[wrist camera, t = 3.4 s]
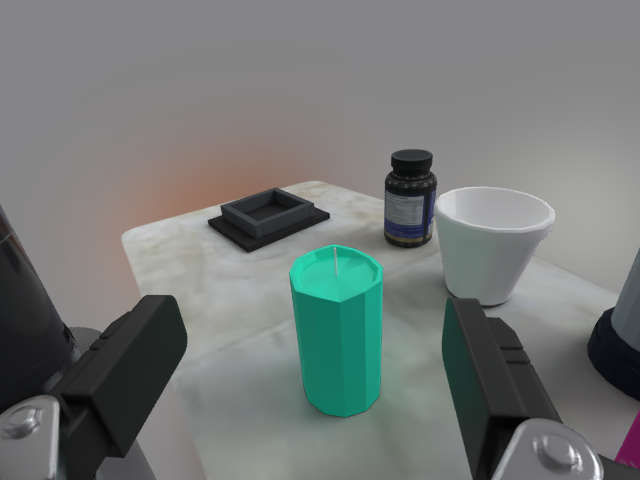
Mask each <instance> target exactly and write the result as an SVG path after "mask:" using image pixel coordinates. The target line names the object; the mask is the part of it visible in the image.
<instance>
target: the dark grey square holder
mask: <svg viewBox="0 0 640 480" xmlns="http://www.w3.org/2000/svg"><path fill="white" fill-rule="evenodd" d="M221 211H222V215H221V216H218V217H216V218H213V219H210V220H208V223H209V225H210V226H212V227H213V228H214V229H216V230H217V231H219V232H220V233H222V234H223V235H224V236H226V237H227V238H229V239H230V240H231V241H233V242H234V243H236V244H237V245H239V246H240V247H241V248H243V249H244V250H246V251H247V252H251V251H254V250H256V249H258V248H261V247H263V246H265V245H268V244H270V243H273V242H275V241H277V240H280V239H282V238H284V237H287V236H289V235H291V234H294V233H296V232H298V231H301V230H303V229H305V228H308V227H310V226H312V225H315V224H317V223H319V222H322V221H324V220H327V219H329V218H330V213H327V212H325V211H323V210H320V209H318V208H316V207H314V203H312V202H310V201H307V200H305V199H302V198H300V197H298V196H295V195H293V194H290V193H288V192H285V191H283V190H281V189H278V188H273V189H270V190H267V191H264V192H261V193H258V194H255V195H252V196H248V197H245V198H242V199H239V200H236V201H233V202H230V203H227V204H224V205H221Z"/></svg>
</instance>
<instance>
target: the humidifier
mask: <svg viewBox="0 0 640 480" xmlns="http://www.w3.org/2000/svg"><path fill="white" fill-rule="evenodd" d="M588 356H589V358H590V360H591V361H592V363H593V365H594V367H595V368H596V369H597V370H598V371H599V372H600V373H601V374H602V376H603V377H604V378H605V379H606V380H607V381H608V382H610V383H611V384H613V385H614V386H615V387H617V388H618V389H620V390H621V391H623V392H624V393H625V394H627V395H629V396H631V397H633V398H635V399H637V400H639V401H640V249H639V251H638V253H637V255H636V258H635V260H634V263H633V265H632V268H631V270H630V272H629V275H628V278H627V280H626V282H625V284H624V287H623V289H622V292H621V294H620V296H619V299H618V301H617V304H616V306H615V307H613V308H611V309H608V310H606V311H604V313H603V315H602V316H601V317H600V319H599V320H598V322H597V323H596V325H595V327H594V330H593V332H592V335H591V337H590V340H589V342H588Z"/></svg>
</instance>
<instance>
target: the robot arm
mask: <svg viewBox="0 0 640 480" xmlns="http://www.w3.org/2000/svg"><path fill="white" fill-rule="evenodd" d="M67 331H68V332H67ZM68 333H69V334H70V335H71V336H72V338H73V339H74V337H73V335H72V333H71V331H70V330H69V329H68V328H67V326H66V325H65V324H64V323H63V322H62V320H61V318H60V316H59V314H58V313H57V311H56V309H55V307H54V305H53V303H52V301H51V299H50V297H49V296H48V294H47V292H46V290H45V288H44V286H43V284H42V282H41V280H40V279H39V277H38V275H37V273H36V271H35V269H34V267H33V266H32V264H31V262H30V260H29V258H28V256H27V254H26V253H25V250H24V248H23V246H22V245H21V243H20V241H19V239H18V237H17V235H16V233H15V231H14V230H13V228H12V226H11V224H10V222H9V220H8V218H7V216H6V214H5V213H4V211H3V209H2V207H1V205H0V480H102V472H101V470H100V468H99V466H100V465H101V463H102V462H103V460H104V458H105V457H117V458H125V456H126V454H127V453H128V451H129V449H130V447H131V446H132V444H133V442H134V440H135V439H136V437H137V435H138V433H139V432H140V430H141V428H142V426H143V425H144V423H145V421H146V420H147V418H148V416H149V414H150V413H151V411H152V409H153V407H154V406H155V404H156V402H157V400H158V399H159V397H160V395H161V393H162V392H163V390H164V388H165V387H166V385H167V383H168V381H169V380H170V378H171V376H172V374H173V373H174V371H175V369H176V367H177V366H178V364H179V362H180V360H181V359H182V357H183V355H184V353H185V351H186V347H187V332H186V329H185V326H184V323H183V320H182V317H181V314H180V311H179V307H178V304H177V301H176V299H175V298H174V296H172V295H146V296H144V297H143V298H142V299H141V300H140V301H139V302H138V304H137V305H136V306H135V307H134V308H133V310H132V311H131V312H127V313H126V314H124V315H123V316H121V317H120V318H118V319H117V320H116V321H114V322H112V323H111V324H110V325H109V327H108V328H107V329H106V330H105V331H104V332H103V333H102V334H101V335H100V336H99V339H97V340H96V341H95V342H94V343H93V344H92V345H91V346H90V348H89V351H86V352H85V353H84V354H83V355H82V356H81V354H80V352H79V350H78V348H77V346H76V345H75V344H74V342H73V340H72V338H71V336H70V335H69V334H68ZM74 340H75V339H74ZM75 342H76V341H75ZM442 356H443V362H444V366H445V370H446V374H447V378H448V382H449V386H450V390H451V394H452V398H453V402H454V406H455V410H456V414H457V418H458V422H459V426H460V430H461V434H462V438H463V442H464V446H465V450H466V454H467V458H468V462H469V466H470V470H471V474H472V478H473V480H640V469H637V468H634V467H631V466H628V465H625V464H622V463H619V462H616V461H613V460H610V459H608V458H606V457H604V456H601V455H599V454H598V453H596V451H595V450H594V449H593V447H592V446H591V445H590V444H589V443H588V442H587V441H586V440H585V439H584V438H583V437H582V436H581V435H580V434H578V433H577V432H575V431H574V430H572V429H571V428H569V427H567V426H565V425H564V424H563V422H562V421H561V419H560V417H559V415H558V413H557V411H556V410H555V408H554V406H553V404H552V402H551V400H550V398H549V396H548V394H547V392H546V390H545V388H544V387H543V385H542V383H541V381H540V379H539V377H538V375H537V373H536V371H535V369H534V367H533V366H532V365H531V364H530V360H529V358H528V356H527V354H526V352H525V351H523V346H522V344H521V343H520V341H519V339H518V337H517V335H516V333H515V331H514V330H512V329H511V328H510V327H509V326H508V325H507V324H506V323H505V322H504V321H502V320H501V319H500V318H492V317H486V316H485V313H484V311H483V309H482V307H481V304H480V302H479V300H478V299H477V298H448V299H447V302H446V310H445V318H444V327H443V335H442Z"/></svg>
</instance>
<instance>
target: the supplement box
mask: <svg viewBox="0 0 640 480" xmlns="http://www.w3.org/2000/svg"><path fill="white" fill-rule="evenodd" d="M614 461H616V462H619V463H622V464H625V465H628V466H631V467H634V468H637V469H640V410H639V412H638V414H637V416H636V418H635V420H634V422H633V424H632V426H631V428H630V430H629V432H628V434H627V436H626V438H625V440H624V442H623V444H622V446H621V448H620V450H619V452H618V454H617V456H616V459H615V460H614Z"/></svg>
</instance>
